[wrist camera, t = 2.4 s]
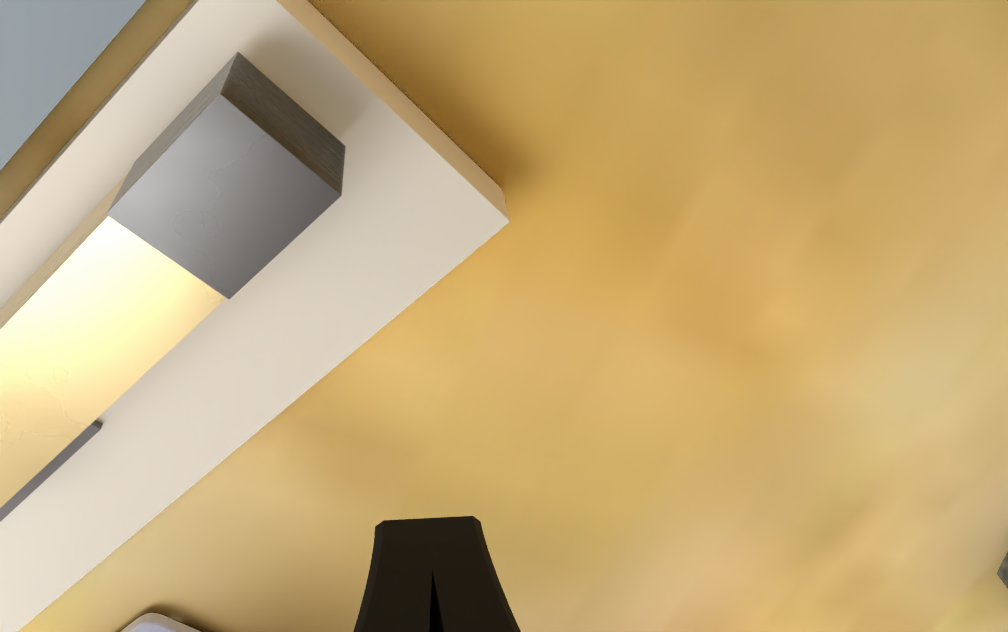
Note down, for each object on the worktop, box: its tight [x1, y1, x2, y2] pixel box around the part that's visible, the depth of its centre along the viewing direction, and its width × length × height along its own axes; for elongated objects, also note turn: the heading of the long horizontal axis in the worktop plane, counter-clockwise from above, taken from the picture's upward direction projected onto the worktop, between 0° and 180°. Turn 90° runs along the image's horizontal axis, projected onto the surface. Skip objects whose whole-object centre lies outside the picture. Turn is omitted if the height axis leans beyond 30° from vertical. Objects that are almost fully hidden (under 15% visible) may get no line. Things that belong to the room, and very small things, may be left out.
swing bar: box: [0, 52, 346, 508], centre depth 16 cm, size 14×3×2 cm, turn 131°
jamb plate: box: [0, 0, 510, 632], centre depth 20 cm, size 7×22×2 cm, turn 131°
